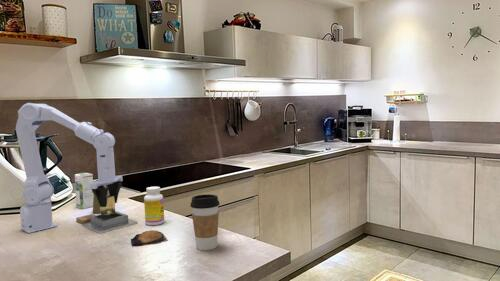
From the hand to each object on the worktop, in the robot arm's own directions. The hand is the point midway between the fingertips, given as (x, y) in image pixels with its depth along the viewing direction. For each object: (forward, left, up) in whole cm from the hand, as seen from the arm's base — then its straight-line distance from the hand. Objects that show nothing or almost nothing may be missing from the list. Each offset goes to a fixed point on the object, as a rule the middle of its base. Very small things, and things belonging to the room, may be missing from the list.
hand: (108, 204), depth 132 cm
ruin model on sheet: (+23, +50, -8) cm, 55 cm away
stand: (-3, +11, -7) cm, 14 cm away
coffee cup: (+7, -45, -7) cm, 46 cm away
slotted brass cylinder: (0, 0, -3) cm, 3 cm away
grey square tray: (0, 0, -7) cm, 7 cm away
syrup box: (+6, +34, -7) cm, 35 cm away
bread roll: (-1, -26, -8) cm, 28 cm away
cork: (+6, +20, -7) cm, 22 cm away
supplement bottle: (+11, -12, -7) cm, 18 cm away
